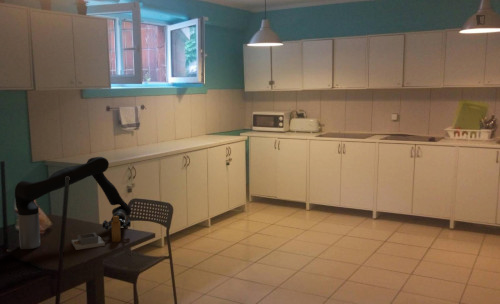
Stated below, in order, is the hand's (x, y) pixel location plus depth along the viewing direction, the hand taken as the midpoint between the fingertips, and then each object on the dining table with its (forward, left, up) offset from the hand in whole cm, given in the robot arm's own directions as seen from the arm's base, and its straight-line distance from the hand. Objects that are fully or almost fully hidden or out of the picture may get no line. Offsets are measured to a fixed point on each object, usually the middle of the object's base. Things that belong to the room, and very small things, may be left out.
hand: (115, 227), depth 245 cm
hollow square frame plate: (-13, +2, -8) cm, 16 cm away
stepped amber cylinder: (0, +1, -8) cm, 8 cm away
